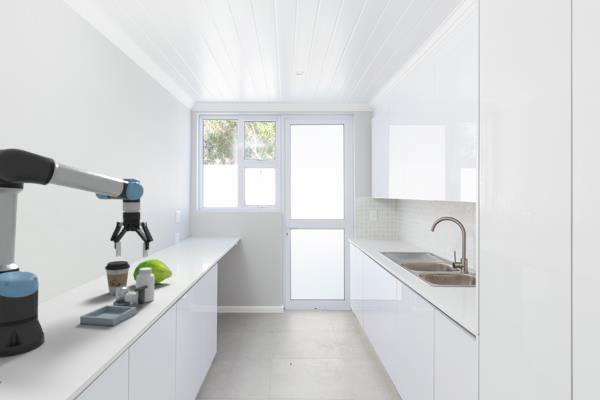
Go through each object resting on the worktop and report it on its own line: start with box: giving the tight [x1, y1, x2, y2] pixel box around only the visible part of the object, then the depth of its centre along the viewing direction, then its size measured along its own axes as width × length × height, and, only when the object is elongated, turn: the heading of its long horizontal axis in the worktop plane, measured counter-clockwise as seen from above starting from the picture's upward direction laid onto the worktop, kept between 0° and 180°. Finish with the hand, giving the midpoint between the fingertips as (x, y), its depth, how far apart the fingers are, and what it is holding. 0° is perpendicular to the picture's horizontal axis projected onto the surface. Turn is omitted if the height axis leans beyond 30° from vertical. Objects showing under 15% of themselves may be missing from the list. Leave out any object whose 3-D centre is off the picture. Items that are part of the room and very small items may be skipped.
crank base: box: [112, 300, 131, 307], centre depth 159 cm, size 16×7×1 cm, turn 171°
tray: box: [79, 304, 137, 327], centre depth 137 cm, size 14×14×3 cm
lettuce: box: [132, 258, 173, 285], centre depth 190 cm, size 15×20×14 cm
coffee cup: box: [104, 260, 131, 295], centre depth 174 cm, size 11×11×15 cm
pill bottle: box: [135, 268, 155, 303], centre depth 161 cm, size 8×8×15 cm
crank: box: [115, 285, 148, 305], centre depth 153 cm, size 15×6×8 cm, turn 71°
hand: (131, 256), depth 161 cm, fingers open, 13 cm apart
